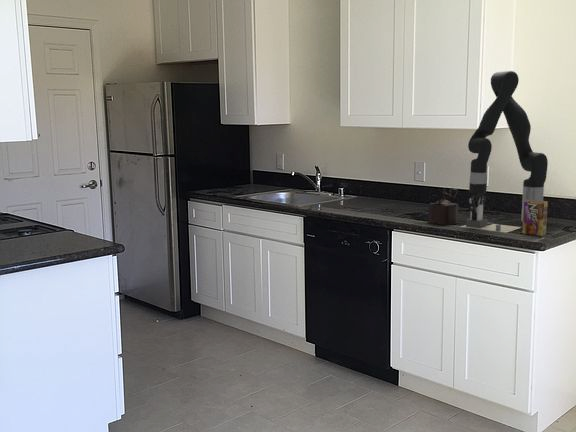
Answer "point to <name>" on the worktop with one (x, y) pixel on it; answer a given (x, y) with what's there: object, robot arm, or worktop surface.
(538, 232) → the candy box
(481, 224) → the board
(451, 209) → the manual coffee grinder
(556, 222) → the worktop surface
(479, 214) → the plug
